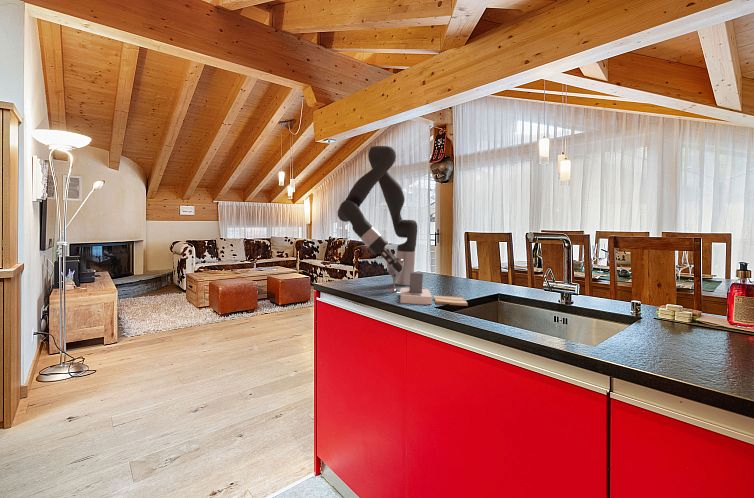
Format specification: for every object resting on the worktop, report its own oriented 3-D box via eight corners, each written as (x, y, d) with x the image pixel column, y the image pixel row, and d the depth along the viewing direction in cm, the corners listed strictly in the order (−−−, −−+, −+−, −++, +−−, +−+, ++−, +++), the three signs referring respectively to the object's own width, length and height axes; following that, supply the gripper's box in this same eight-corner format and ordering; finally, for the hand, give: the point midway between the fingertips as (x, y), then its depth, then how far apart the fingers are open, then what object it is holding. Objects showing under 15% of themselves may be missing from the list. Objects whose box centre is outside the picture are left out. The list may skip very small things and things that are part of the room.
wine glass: (382, 290, 171) (383, 257, 170) (397, 289, 175) (399, 257, 174) (390, 293, 164) (391, 259, 163) (405, 292, 167) (407, 259, 166)
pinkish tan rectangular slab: (400, 294, 162) (400, 287, 162) (428, 296, 161) (428, 288, 161) (400, 302, 144) (400, 294, 144) (431, 304, 143) (431, 296, 143)
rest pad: (433, 297, 158) (433, 295, 158) (462, 299, 157) (462, 297, 157) (436, 304, 145) (436, 301, 145) (467, 305, 144) (467, 303, 144)
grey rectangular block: (408, 298, 155) (410, 271, 154) (420, 298, 155) (422, 272, 154) (409, 300, 151) (410, 273, 150) (421, 300, 151) (422, 273, 150)
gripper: (379, 234, 145) (407, 265, 145) (381, 234, 159) (407, 262, 159) (365, 247, 146) (393, 278, 146) (368, 245, 160) (394, 273, 160)
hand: (400, 269), depth 152 cm, fingers open, 8 cm apart
